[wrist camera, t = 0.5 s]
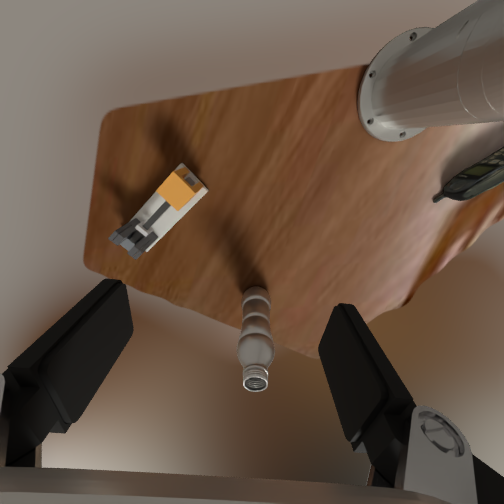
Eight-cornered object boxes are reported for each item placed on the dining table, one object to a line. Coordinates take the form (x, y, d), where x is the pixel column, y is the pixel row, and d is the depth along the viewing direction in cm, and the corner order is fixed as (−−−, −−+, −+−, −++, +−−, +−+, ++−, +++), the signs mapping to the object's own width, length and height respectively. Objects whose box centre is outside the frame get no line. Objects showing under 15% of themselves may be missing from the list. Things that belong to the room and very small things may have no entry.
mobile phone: (571, 123, 28) (451, 199, 32) (574, 143, 29) (458, 213, 33) (526, 126, 32) (427, 192, 36) (531, 143, 33) (434, 205, 37)
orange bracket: (185, 166, 34) (173, 171, 29) (204, 186, 35) (195, 193, 30) (170, 184, 35) (155, 190, 30) (188, 202, 36) (177, 211, 31)
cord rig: (182, 162, 35) (165, 167, 29) (208, 190, 37) (198, 201, 31) (123, 229, 41) (98, 246, 34) (149, 249, 43) (129, 269, 36)
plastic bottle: (243, 306, 50) (235, 397, 32) (240, 282, 46) (230, 370, 29) (270, 305, 49) (278, 397, 32) (270, 281, 46) (277, 369, 28)
